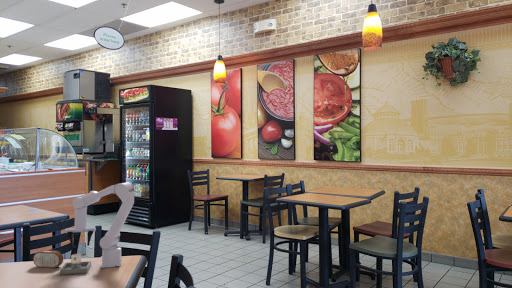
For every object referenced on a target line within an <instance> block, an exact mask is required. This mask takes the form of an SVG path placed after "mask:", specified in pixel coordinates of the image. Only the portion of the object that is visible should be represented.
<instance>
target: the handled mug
mask: <svg viewBox="0 0 512 288" xmlns="http://www.w3.org/2000/svg"><path fill="white" fill-rule="evenodd" d="M70 262H71V269H78V268H81V262H82V254H81V253H74V254H71V257H70Z"/></svg>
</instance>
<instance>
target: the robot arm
mask: <svg viewBox="0 0 512 288" xmlns="http://www.w3.org/2000/svg"><path fill="white" fill-rule="evenodd" d="M135 191H136V189H135V186H134V184H133V183H132V182H130V181H126V182H121V183H116V184H113V185H110V186H107V187H106V188H104V189H101V190H100V191H96V190H91V191H89V193H87V194H82V195H81V196H80V197H75V198H74V199H73V200H72V207H73V208H74V227H71V228H70V227H69V228H65V229H64V233H65V234H66V236H67V237H68V240H69V243H70V246H71V247H72V248H73V247H74V241H75V240H74V238H75V237H74V235H75V233H85V232H86V235H87V236H86V237H87V240H86V242H87V245H86V246H87V247H89V246H90V244H91V243H90V242H91V238H92V236H93V233H95V232H96V229H97V227H95V226H94V227H93V226H91V227H90V226H87V221H88V220H87V219H88V218H87V215H88V212H87V211H88V206H90V205H92V204H95V203H97V202H99V201H100V200H101V198H102V197H105V196H107V195H111V194H114V195H116V196H117V197H118V198H119V199H120V200H121V204H120V207H119V209H118V211H117V212H116V213H117V214H116V216H115V217H114V219H113V222H112V223H111V226H110V228H109V230H108V231H106V233H105V234H104V236H103V237H101V238H100V240H99V246H100V248H101V265H100V269H103V268H116V267H115V266H119V267H121V265H120V264H122V247H118V244H119V242H120V236H121V233H120V232H121V230H122V229H123V226H124V224H125V222H126V220H127V218H128V216H129V214H130V212H131V210H132V208H133V206H134V204H135Z"/></svg>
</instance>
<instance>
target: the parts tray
mask: <svg viewBox="0 0 512 288" xmlns="http://www.w3.org/2000/svg"><path fill="white" fill-rule="evenodd" d="M91 267H92V260H89V261H88V260H87V261H81V268H78V269H71V261H70V262H65V263H64V265H63V266H61V268H60V269H59V276H72V275H84V274H88V273H89V270H90V269H91Z"/></svg>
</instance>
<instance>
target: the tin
mask: <svg viewBox="0 0 512 288" xmlns="http://www.w3.org/2000/svg"><path fill="white" fill-rule="evenodd" d="M32 258H33V259H32V260H33V264H34V265H35V266H36V267H38V268H47V269H56V268H58V267H60V266H61V265H62V264H63V262H64V256H63V254H62V253H61V251H59V250H49V249H48V250H47V249H46V250H45V249H40V250H39V251H37V252H35V254H33V257H32Z"/></svg>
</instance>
